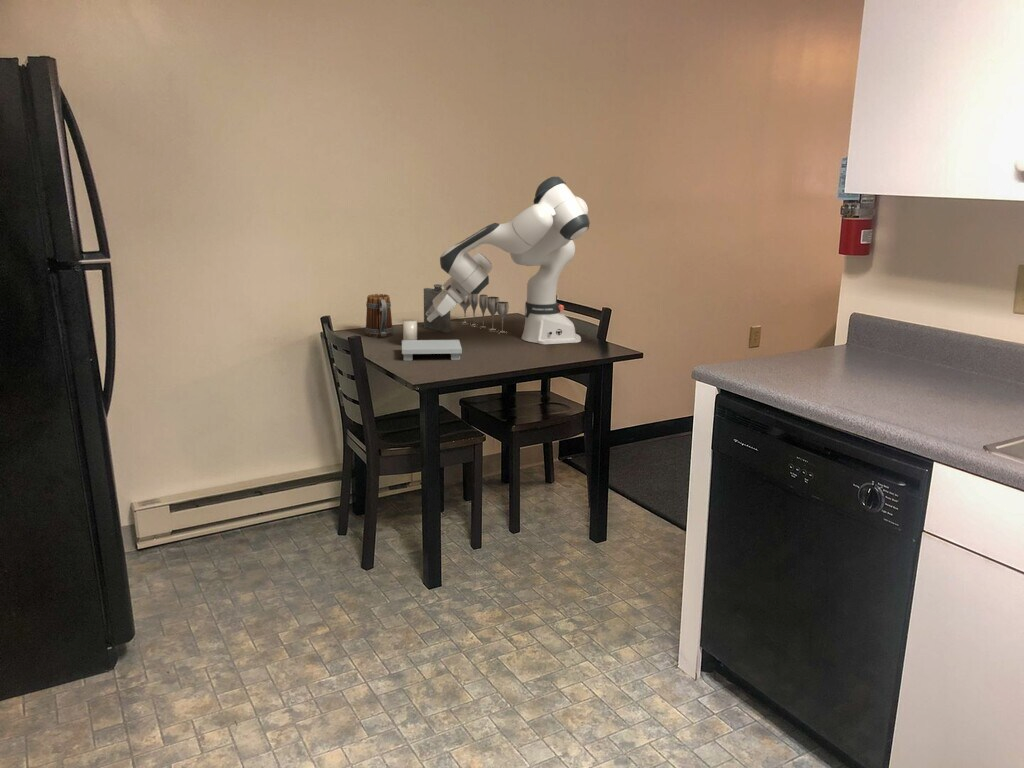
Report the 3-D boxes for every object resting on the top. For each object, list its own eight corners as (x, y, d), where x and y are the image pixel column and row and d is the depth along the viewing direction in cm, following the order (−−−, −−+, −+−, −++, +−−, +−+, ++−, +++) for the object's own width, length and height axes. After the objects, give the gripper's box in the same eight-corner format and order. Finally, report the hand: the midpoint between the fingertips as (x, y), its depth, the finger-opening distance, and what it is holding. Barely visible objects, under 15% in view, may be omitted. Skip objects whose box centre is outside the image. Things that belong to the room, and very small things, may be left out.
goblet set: (511, 332, 317) (512, 299, 313) (500, 334, 313) (501, 300, 309) (465, 321, 336) (465, 289, 333) (455, 323, 332) (455, 291, 329)
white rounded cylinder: (417, 343, 295) (416, 319, 292) (417, 347, 290) (417, 322, 288) (403, 343, 294) (403, 319, 292) (403, 347, 290) (403, 322, 287)
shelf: (459, 350, 286) (459, 339, 285) (461, 360, 273) (461, 349, 271) (402, 351, 283) (401, 340, 282) (402, 361, 270) (401, 349, 269)
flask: (429, 326, 324) (429, 281, 319) (453, 332, 315) (453, 286, 310) (422, 327, 322) (422, 282, 317) (446, 333, 312) (446, 287, 307)
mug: (362, 332, 311) (361, 294, 307) (389, 331, 315) (389, 292, 311) (371, 341, 297) (369, 301, 293) (399, 339, 301) (398, 299, 297)
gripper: (446, 280, 297) (420, 306, 298) (450, 289, 278) (422, 317, 279) (458, 292, 299) (432, 318, 300) (463, 301, 280) (435, 329, 281)
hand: (427, 318), depth 290 cm, fingers open, 8 cm apart
